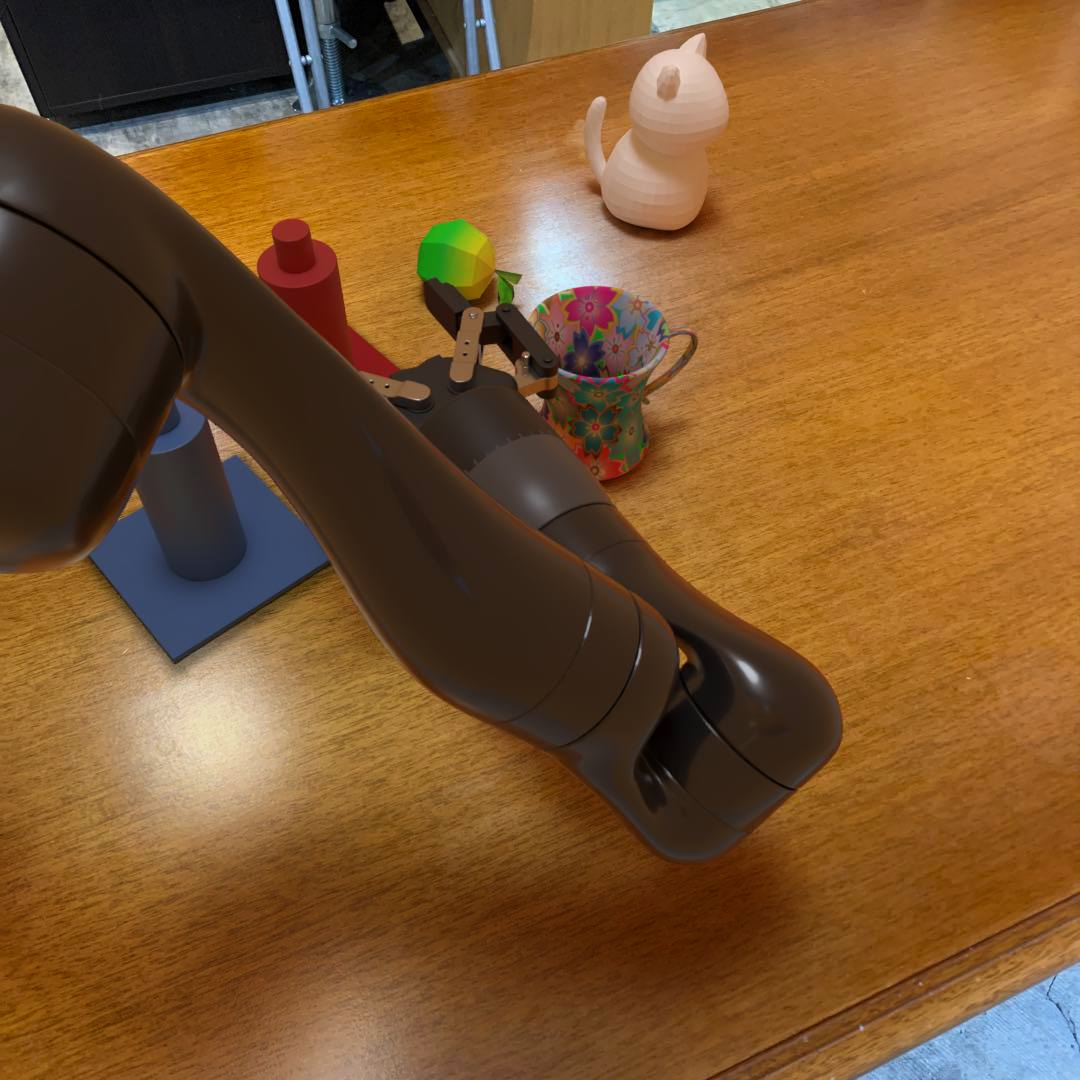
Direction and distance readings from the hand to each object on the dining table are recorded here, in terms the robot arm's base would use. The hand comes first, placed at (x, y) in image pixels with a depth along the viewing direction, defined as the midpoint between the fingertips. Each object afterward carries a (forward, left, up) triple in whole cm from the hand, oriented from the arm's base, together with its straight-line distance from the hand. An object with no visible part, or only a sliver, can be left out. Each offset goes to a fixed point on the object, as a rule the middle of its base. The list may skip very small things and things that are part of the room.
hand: (364, 315), depth 63 cm
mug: (+15, -6, -16) cm, 23 cm away
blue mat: (-12, +4, -16) cm, 20 cm away
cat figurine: (+37, +12, -16) cm, 42 cm away
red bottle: (+2, +10, -15) cm, 18 cm away
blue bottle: (-12, +4, -15) cm, 20 cm away
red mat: (+2, +11, -16) cm, 19 cm away
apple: (+18, +13, -16) cm, 27 cm away
